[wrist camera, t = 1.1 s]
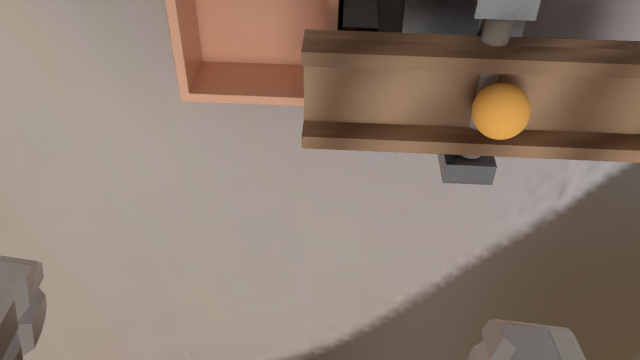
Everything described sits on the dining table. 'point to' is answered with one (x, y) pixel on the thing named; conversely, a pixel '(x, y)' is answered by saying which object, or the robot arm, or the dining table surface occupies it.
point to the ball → (501, 111)
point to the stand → (455, 19)
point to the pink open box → (244, 48)
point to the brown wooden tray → (470, 93)
